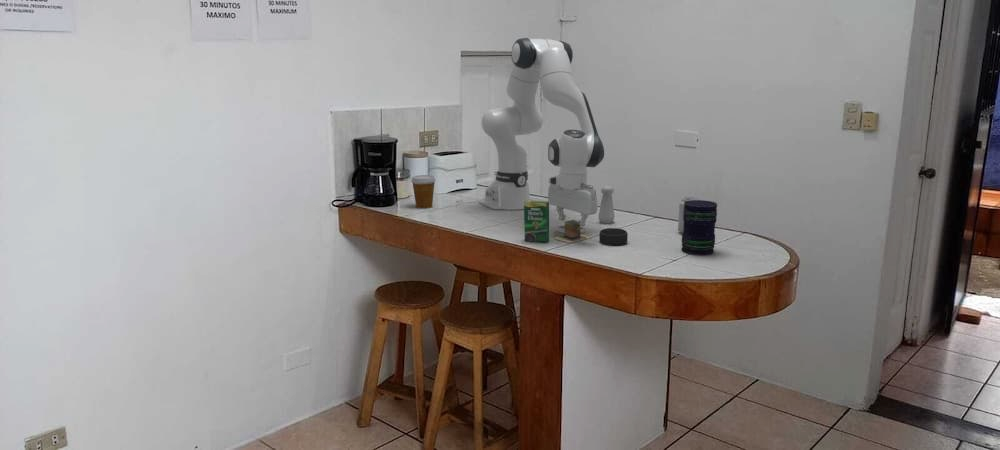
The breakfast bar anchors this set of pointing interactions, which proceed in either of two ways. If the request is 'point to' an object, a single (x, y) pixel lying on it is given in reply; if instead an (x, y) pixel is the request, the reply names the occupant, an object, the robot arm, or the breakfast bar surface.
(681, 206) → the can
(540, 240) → the coffee box
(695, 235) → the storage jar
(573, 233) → the stamp
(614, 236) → the smart speaker
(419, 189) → the disposable coffee cup
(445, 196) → the breakfast bar surface
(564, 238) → the card
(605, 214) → the salt shaker
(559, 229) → the ink pad
